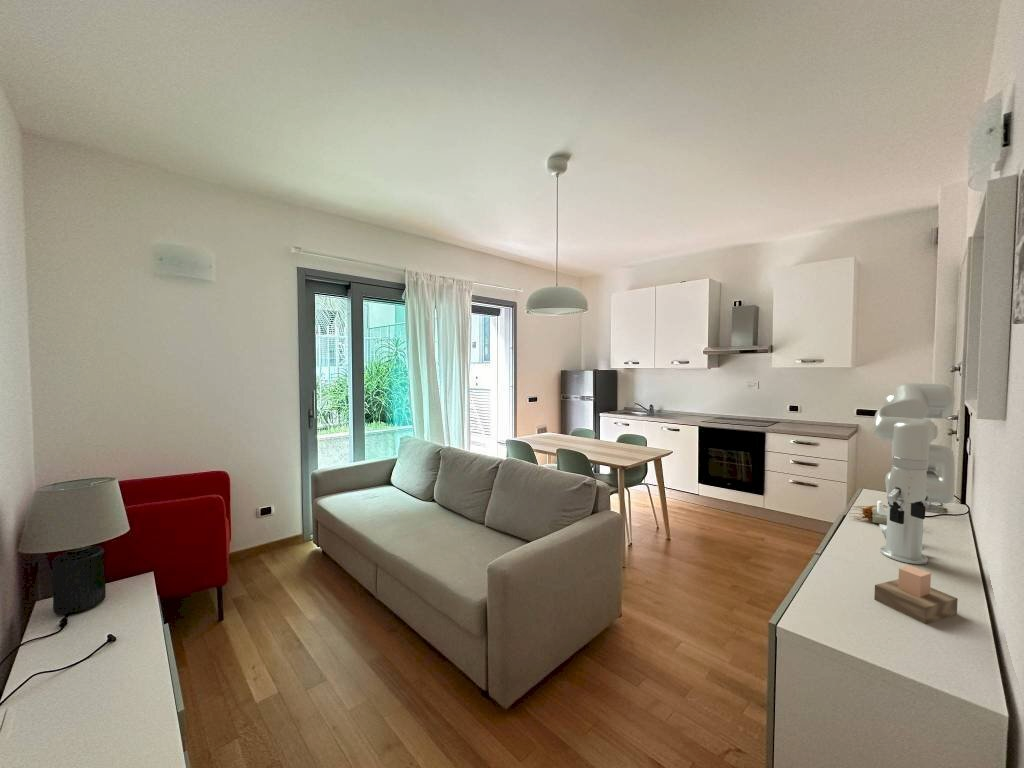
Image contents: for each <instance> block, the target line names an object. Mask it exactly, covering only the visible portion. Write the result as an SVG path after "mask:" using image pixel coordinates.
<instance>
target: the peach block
mask: <svg viewBox="0 0 1024 768" xmlns="http://www.w3.org/2000/svg"><path fill="white" fill-rule="evenodd" d="M898 579H899V581H898V588H899V589H901V590H904V591H906V592H909V593H911V594H913V595H916V596H918V597H922V596H925V595H928V594H930V587H931V581H932V573H931V572H928V571H925V570H922V569H920V568H917V567H914V566H911V565H906V566H902V567H900V568H898Z"/></svg>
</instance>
